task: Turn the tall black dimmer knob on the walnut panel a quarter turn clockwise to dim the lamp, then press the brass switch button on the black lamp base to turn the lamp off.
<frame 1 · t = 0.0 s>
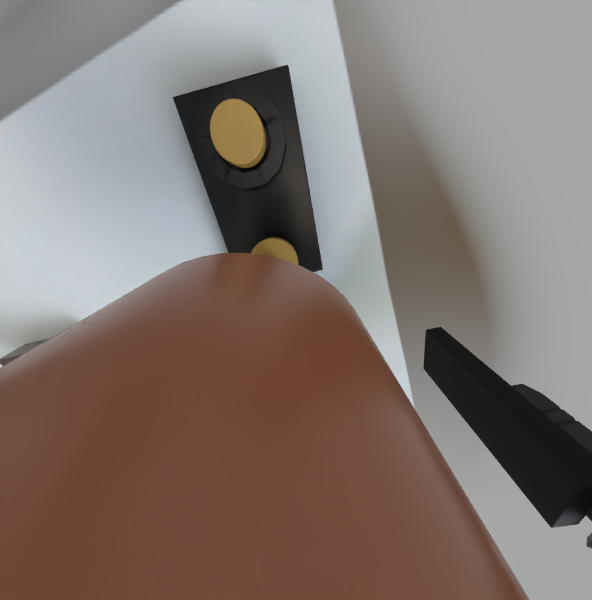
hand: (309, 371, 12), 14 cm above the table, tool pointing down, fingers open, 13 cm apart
switch: (239, 137, 15), point 5 cm above the table, slide at 0.1 cm
lamp base: (262, 197, 21), on the table
dimmer panel: (89, 371, 30), on the table
lamp: (274, 261, 20), resting on lamp base
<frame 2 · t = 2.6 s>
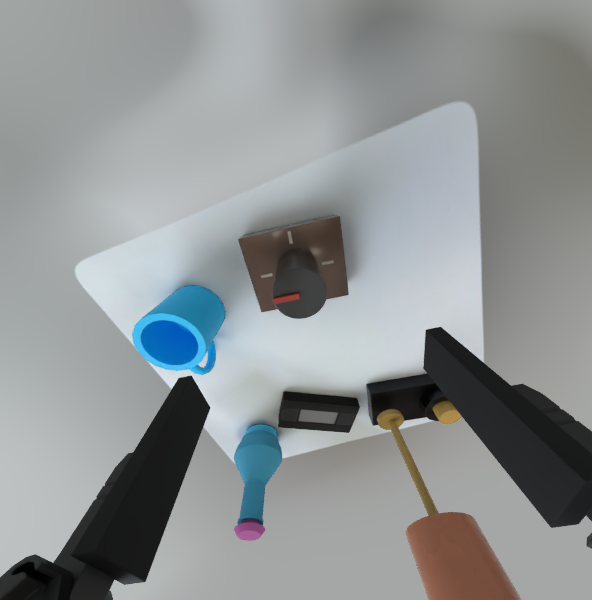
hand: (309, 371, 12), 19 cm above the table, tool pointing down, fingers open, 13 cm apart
vhs tape: (316, 407, 42), on the table
switch: (446, 412, 36), point 5 cm above the table, slide at 0.1 cm
perfume bottle: (261, 433, 45), on the table
mug: (203, 320, 33), on the table
lamp base: (409, 393, 41), on the table
dimmer panel: (296, 262, 29), on the table
lamp: (389, 417, 38), resting on lamp base
dimmer: (298, 280, 23), point 7 cm above the table, hinge at 0.0°
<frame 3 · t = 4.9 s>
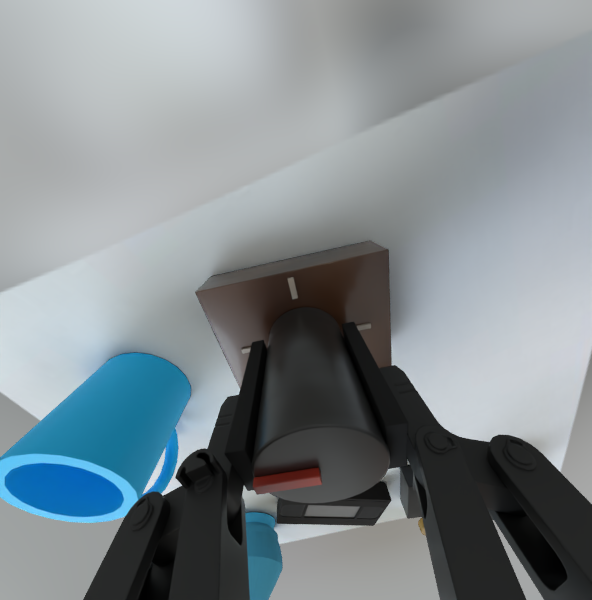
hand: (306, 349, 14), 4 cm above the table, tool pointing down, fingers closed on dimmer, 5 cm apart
vhs tape: (329, 491, 31), on the table
perfume bottle: (254, 520, 34), on the table
mug: (159, 397, 21), on the table
lamp base: (457, 475, 29), on the table
dimmer panel: (302, 316, 18), on the table
dimmer: (310, 385, 11), point 7 cm above the table, hinge at 0.0°, touching gripper
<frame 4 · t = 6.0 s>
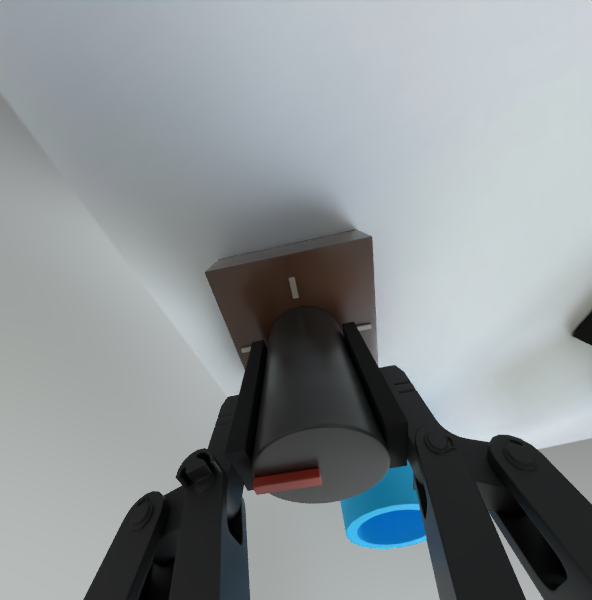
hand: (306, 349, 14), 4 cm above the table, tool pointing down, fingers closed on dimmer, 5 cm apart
mug: (379, 423, 24), on the table
dimmer panel: (302, 316, 18), on the table
dimmer: (311, 385, 11), point 7 cm above the table, hinge at -89.4°, touching gripper
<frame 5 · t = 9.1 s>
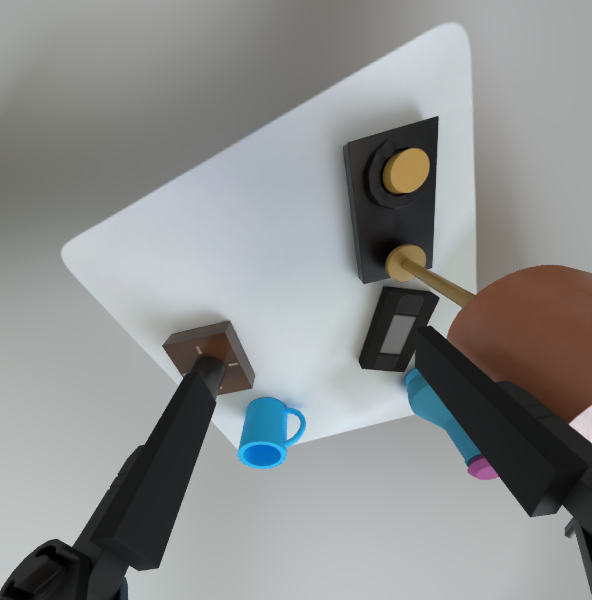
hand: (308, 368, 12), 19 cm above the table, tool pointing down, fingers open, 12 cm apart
vhs tape: (391, 328, 35), on the table
switch: (404, 172, 21), point 5 cm above the table, slide at 0.1 cm
perfume bottle: (422, 377, 40), on the table
mug: (276, 408, 43), on the table
lamp base: (387, 211, 26), on the table
dimmer panel: (216, 355, 36), on the table
lamp: (403, 262, 25), resting on lamp base
dimmer: (199, 390, 30), point 7 cm above the table, hinge at -89.5°
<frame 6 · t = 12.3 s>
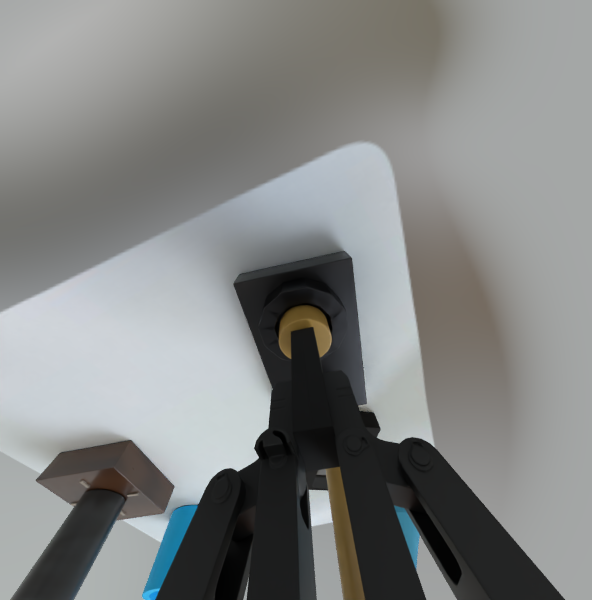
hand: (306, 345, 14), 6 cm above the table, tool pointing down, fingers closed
vhs tape: (331, 443, 29), on the table
switch: (304, 333, 15), point 5 cm above the table, slide at 0.0 cm, touching gripper
perfume bottle: (374, 484, 34), on the table
mug: (207, 513, 36), on the table
lamp base: (309, 339, 21), on the table
dimmer panel: (121, 471, 30), on the table
lamp: (323, 411, 20), resting on lamp base
dimmer: (75, 547, 23), point 7 cm above the table, hinge at -89.5°
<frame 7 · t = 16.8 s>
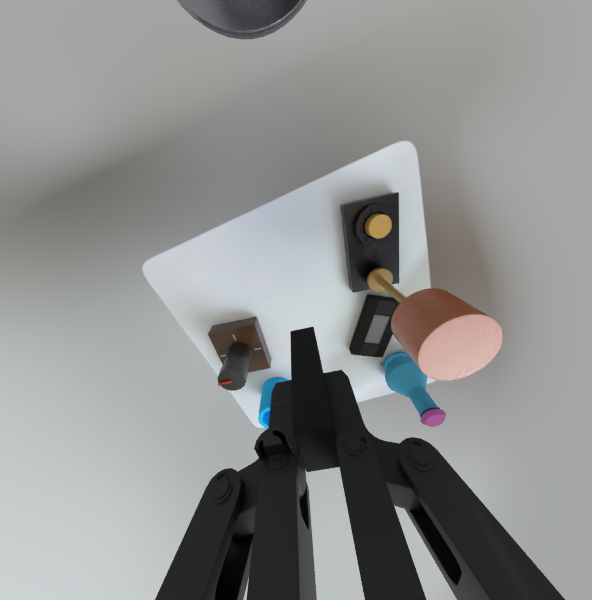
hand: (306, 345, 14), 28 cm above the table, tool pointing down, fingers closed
vhs tape: (373, 324, 48), on the table
switch: (377, 226, 34), point 5 cm above the table, slide at 0.1 cm
perfume bottle: (397, 363, 53), on the table
mug: (285, 386, 55), on the table
lamp base: (369, 245, 40), on the table
dimmer panel: (243, 343, 48), on the table
lamp: (378, 279, 38), resting on lamp base
dimmer: (236, 365, 42), point 7 cm above the table, hinge at -89.5°
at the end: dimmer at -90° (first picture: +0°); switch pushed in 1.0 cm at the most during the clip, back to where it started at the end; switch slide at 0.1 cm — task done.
